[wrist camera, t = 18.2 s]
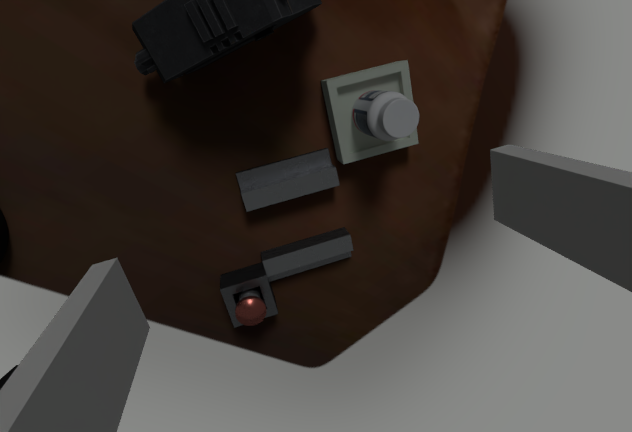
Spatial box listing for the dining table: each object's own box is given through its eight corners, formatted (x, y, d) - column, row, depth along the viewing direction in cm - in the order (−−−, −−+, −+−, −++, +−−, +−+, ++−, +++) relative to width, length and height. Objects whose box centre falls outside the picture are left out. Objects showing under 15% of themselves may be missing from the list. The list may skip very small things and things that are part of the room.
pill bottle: (379, 141, 49) (409, 153, 41) (343, 123, 48) (367, 133, 39) (399, 101, 48) (434, 106, 40) (363, 82, 46) (392, 82, 38)
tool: (339, 3, 42) (298, 14, 30) (206, 72, 50) (130, 104, 38) (316, -59, 40) (261, -74, 28) (180, 24, 48) (91, 42, 36)
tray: (337, 159, 51) (343, 164, 48) (320, 80, 47) (326, 80, 44) (408, 140, 52) (418, 143, 49) (397, 61, 48) (407, 60, 46)
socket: (269, 279, 54) (271, 289, 52) (235, 172, 49) (236, 177, 46) (350, 254, 56) (356, 263, 53) (326, 147, 50) (332, 151, 48)
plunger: (239, 304, 54) (240, 329, 49) (231, 281, 53) (231, 304, 47) (265, 296, 54) (270, 320, 49) (258, 273, 53) (261, 295, 48)
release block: (233, 311, 55) (234, 327, 51) (220, 274, 53) (220, 289, 49) (275, 298, 56) (278, 313, 52) (263, 261, 53) (266, 275, 50)
